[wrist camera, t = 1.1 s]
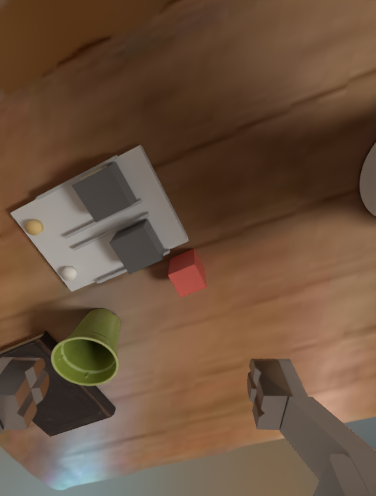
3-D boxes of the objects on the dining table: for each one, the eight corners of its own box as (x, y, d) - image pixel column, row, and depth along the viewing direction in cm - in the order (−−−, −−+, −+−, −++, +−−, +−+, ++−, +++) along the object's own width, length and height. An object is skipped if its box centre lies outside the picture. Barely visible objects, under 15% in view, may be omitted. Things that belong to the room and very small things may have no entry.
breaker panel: (140, 143, 33) (137, 144, 31) (188, 238, 38) (188, 245, 36) (15, 208, 36) (4, 213, 34) (76, 287, 42) (69, 296, 40)
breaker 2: (147, 218, 35) (143, 227, 32) (164, 248, 37) (162, 259, 34) (115, 233, 36) (109, 243, 33) (134, 262, 38) (129, 274, 35)
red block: (193, 248, 39) (194, 264, 35) (204, 269, 41) (206, 287, 36) (170, 258, 40) (167, 275, 35) (181, 278, 41) (180, 297, 37)
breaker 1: (115, 160, 32) (107, 164, 29) (136, 198, 34) (131, 205, 31) (81, 178, 33) (70, 183, 30) (103, 214, 35) (95, 222, 32)
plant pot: (68, 301, 43) (41, 340, 35) (124, 297, 43) (110, 335, 35) (83, 344, 47) (62, 387, 39) (134, 340, 47) (123, 383, 39)
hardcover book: (54, 425, 58) (50, 436, 56) (-21, 357, 49) (-31, 367, 47) (116, 405, 55) (114, 416, 53) (48, 328, 46) (41, 337, 44)
